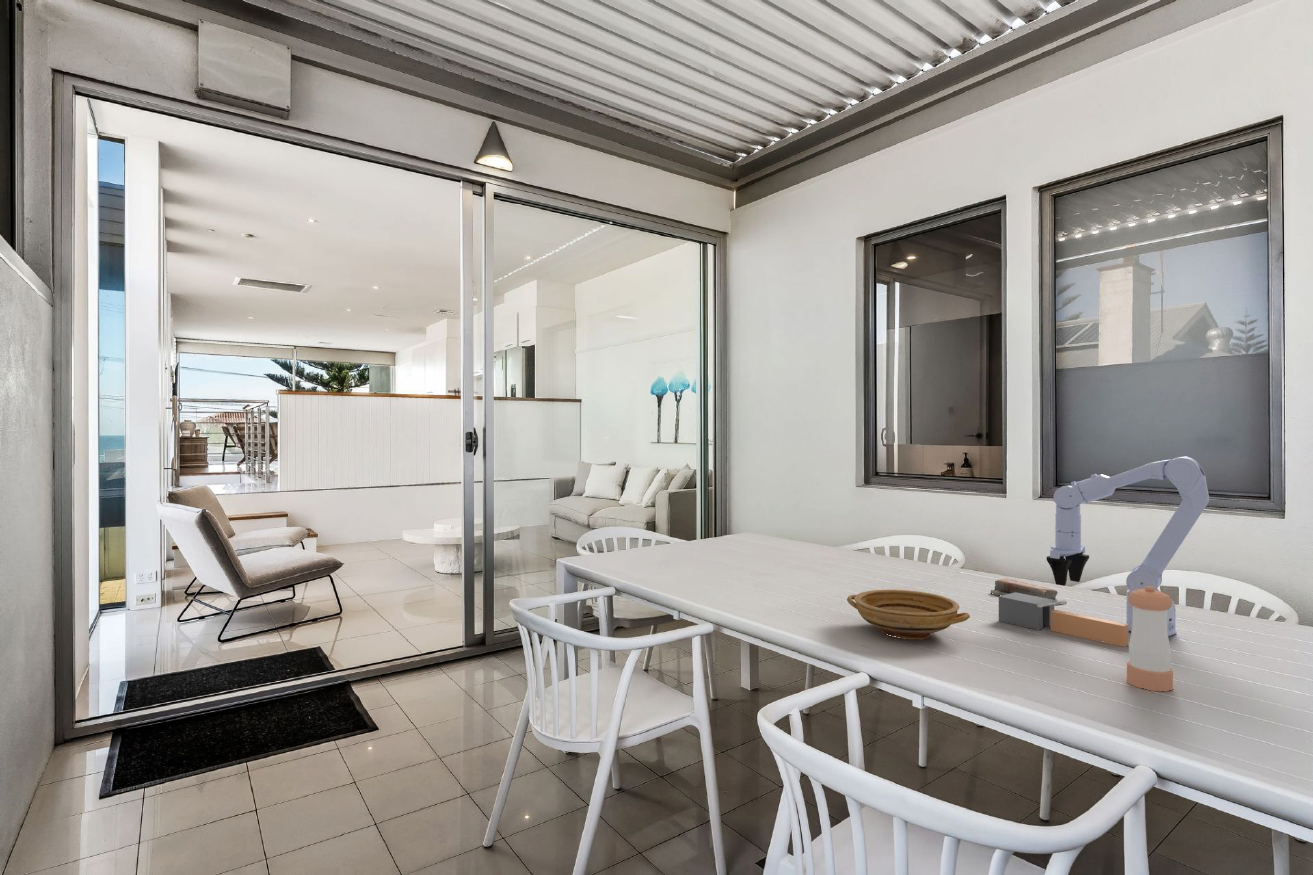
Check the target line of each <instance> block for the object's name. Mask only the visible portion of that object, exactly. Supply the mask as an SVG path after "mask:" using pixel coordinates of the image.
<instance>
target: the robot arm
mask: <svg viewBox="0 0 1313 875" xmlns="http://www.w3.org/2000/svg"><path fill="white" fill-rule="evenodd" d="M1149 479H1152V480H1153V479H1154V480H1160V481H1164V480H1167V479H1168V480H1169V481H1170V483H1171V484H1173V485H1174V487H1176V489H1177V492H1178V493H1179V495H1180V497H1181V502H1180V504H1179V505H1178V507H1177V508H1176V509H1175V512H1174V513H1173V515H1172V516H1171V517H1170V519H1169V521H1168V522H1167V523H1166V526H1165V527H1164V528H1163V530H1162V532H1161V533H1160V534H1159V536H1158V538H1157V540H1155V542H1154V544H1153V546H1152V548H1151V549H1150V551H1149V552H1148V554H1147V555H1146V556H1145V558H1144V559H1143V560H1142V561H1141V562H1142V563H1141V564H1140V565H1137V566H1136V567H1134V569H1133V570H1132V571H1131V572H1130V573H1129V574H1128V575H1127V577H1126V580H1125V581H1126V587H1127V590H1126V609H1125V610H1126V612H1125V613H1126V616H1125V618H1126V619H1125V621H1126V623H1125V624H1129V632H1130V633H1131V632H1132V621H1133V606H1132V605H1131V604H1130V603H1129V601H1128V595H1129V594H1130V593H1131V592H1132V591H1134V590H1138V589H1145V587H1147V586H1151V587H1154V589H1155V590H1156V591H1160V589H1158V588H1159V587H1160V586H1161V584H1162V583H1163V573H1164V571H1165V570H1166V568H1167V567H1168V565H1169V564H1170V562H1171V560H1172V559H1173V557H1175V556H1174V555H1175V554H1176V553H1177V551H1178V550H1179V548H1180V546H1182V544H1183V543H1184V540H1185V539H1186V538H1187V536H1188V535H1189V533H1190V531H1191V530H1192V529H1193V527H1194V526H1195V524H1196V522H1197V521H1198V520H1199V518H1200V516H1201V515H1202V513H1203V511H1204V510H1205V508H1206V507H1207V505H1208V504H1209V502H1210V496H1209V490H1208V484H1207V476H1206V472H1205V471H1204V469H1203V468H1202V466H1201V465H1200V463H1199V462H1198V461H1197V460H1196V459H1194V458H1193V457H1190V456H1178V457H1175V458H1173V459H1171V458H1170V459H1165V460H1159V461H1154V462H1149V463H1146V464H1144V465H1141V466H1137V467H1136V468H1132V469H1129V470H1127V471H1124V472H1121V473H1118V474H1115V475H1112V476H1108V475H1106V474H1097V473H1094V474H1091V475H1090V477H1089V478H1085V479H1083V480H1079V481H1076V480H1075V481H1071V482H1070V484H1071V485H1063V486H1061V487H1059V488H1058V489H1056V490H1055V492H1054V494H1053V501H1054V503H1055V528H1054V529H1055V534H1054V537H1055V542H1054V543H1055V545H1050V549H1051V550H1049V554H1050V555H1047V556H1046V561H1047V563H1048V565H1049V567H1050V568H1051V571H1052V575H1053V577H1054V582H1055V585H1057V586H1066V585H1067V580H1068V578H1069V580H1070V582H1077V583H1080V582H1081V579H1082V575H1083V571H1084V568H1085V566H1086V564H1087V563H1088V561H1089V559H1090V555H1089V554H1085V553H1086V546H1085V545H1082V543H1081V542H1082V537H1081V536H1082V527H1081V526H1082V515H1081V504H1082V503H1083V504H1088V503H1091V502H1094V501H1097V500H1101V499H1104V498H1107V497H1111V496H1113V495H1114V492H1115V490H1116V489H1117V488H1121V487H1125V486H1128V485H1132V484H1135V483H1139V482H1142V481H1145V480H1149ZM1172 603H1173V604H1172V606H1171V608H1170V609H1169V610H1167V633H1168V637H1170V636H1173V635H1176V634H1177V631H1176V605H1175V601H1173V600H1172Z"/></svg>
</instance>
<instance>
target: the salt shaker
mask: <svg viewBox="0 0 1313 875" xmlns="http://www.w3.org/2000/svg"><path fill="white" fill-rule="evenodd" d="M1128 601H1129V603H1130V604H1131V605H1132V606H1133V621H1132V632H1131V631H1130V637H1129V638H1130V639H1129V641H1128V660H1129V661H1128V662H1127V663H1126V682H1127V683H1128V684H1129V685H1131V686H1133V687H1136V688H1139V689H1142V688H1144V689H1143V690H1146V689H1147V691H1153V692H1162V691H1164V692H1170V691H1169V690H1171V691H1172V690H1173V689H1174V670H1173V669H1172V668H1171V662H1172V661H1171V660H1172V651H1171V644H1170V638H1169V636H1168V633H1167V610H1169V609H1170V608H1171V606H1172V604H1173V603H1172V601H1173V600H1172V599H1171V597H1170V596H1169V594H1166V593H1164V592H1163V591H1160V590H1159V591H1156V590H1155V589H1154V587H1151V586H1147V587H1145V589H1138V590H1134V591H1132V592H1131V593H1130V594H1129V595H1128ZM1172 688H1173V689H1172Z"/></svg>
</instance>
